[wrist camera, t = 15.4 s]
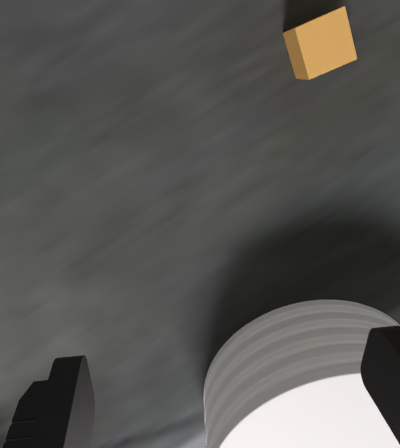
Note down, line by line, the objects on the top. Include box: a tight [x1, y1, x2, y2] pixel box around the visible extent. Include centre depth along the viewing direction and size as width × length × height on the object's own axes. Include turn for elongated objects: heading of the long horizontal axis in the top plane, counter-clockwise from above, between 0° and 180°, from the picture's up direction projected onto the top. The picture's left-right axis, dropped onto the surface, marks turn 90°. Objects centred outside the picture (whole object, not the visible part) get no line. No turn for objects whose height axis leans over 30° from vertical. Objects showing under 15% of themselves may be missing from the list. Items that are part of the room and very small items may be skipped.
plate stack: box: [203, 300, 400, 448], centre depth 44 cm, size 28×28×12 cm
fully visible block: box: [283, 6, 357, 80], centre depth 31 cm, size 4×4×4 cm
